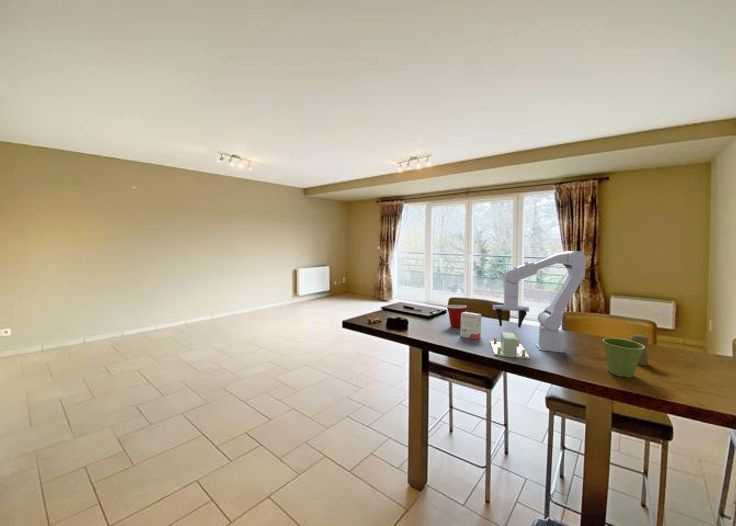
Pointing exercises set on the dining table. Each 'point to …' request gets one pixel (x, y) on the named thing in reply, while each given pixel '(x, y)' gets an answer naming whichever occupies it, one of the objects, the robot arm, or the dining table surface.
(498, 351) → the chassis plate
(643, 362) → the grey upright block
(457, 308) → the plastic cup
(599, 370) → the dining table surface
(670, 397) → the dining table surface
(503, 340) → the board block
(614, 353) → the plant pot
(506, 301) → the robot arm
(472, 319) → the ink box
